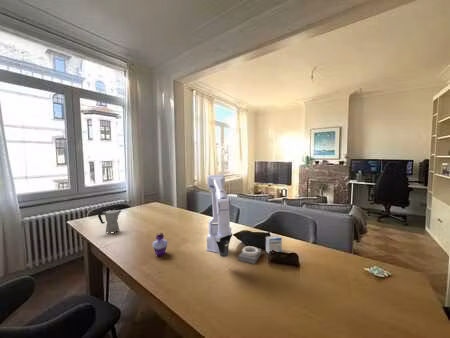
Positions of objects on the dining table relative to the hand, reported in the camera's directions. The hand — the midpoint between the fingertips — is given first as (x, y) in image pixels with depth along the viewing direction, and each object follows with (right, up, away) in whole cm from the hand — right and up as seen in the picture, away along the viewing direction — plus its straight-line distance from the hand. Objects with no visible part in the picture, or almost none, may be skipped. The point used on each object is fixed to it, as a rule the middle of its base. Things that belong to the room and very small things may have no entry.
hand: (223, 250), depth 103 cm
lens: (0, -2, 0) cm, 2 cm away
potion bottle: (-36, -8, +16) cm, 40 cm away
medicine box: (+28, -8, +17) cm, 34 cm away
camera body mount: (+14, -8, +11) cm, 20 cm away
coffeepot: (-83, -7, +51) cm, 98 cm away
